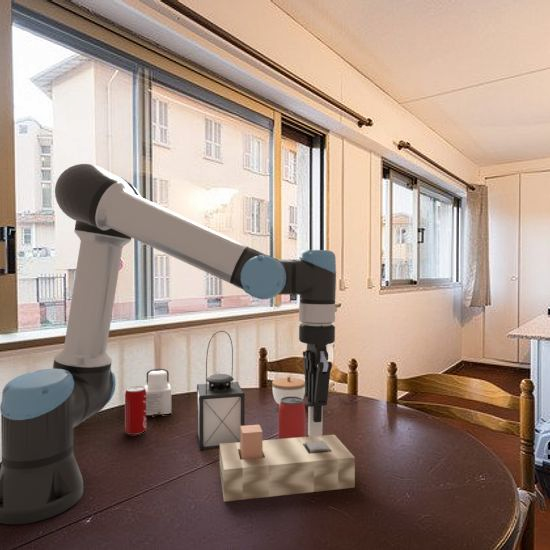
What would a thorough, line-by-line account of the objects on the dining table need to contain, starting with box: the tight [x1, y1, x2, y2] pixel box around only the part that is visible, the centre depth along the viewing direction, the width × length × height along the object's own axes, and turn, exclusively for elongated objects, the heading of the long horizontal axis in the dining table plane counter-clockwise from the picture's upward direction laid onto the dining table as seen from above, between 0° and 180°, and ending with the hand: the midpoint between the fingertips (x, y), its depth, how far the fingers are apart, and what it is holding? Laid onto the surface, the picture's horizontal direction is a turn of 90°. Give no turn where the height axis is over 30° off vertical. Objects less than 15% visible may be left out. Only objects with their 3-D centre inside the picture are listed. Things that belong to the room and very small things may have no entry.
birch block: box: [219, 434, 356, 502], centre depth 86 cm, size 26×12×6 cm, turn 101°
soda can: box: [124, 385, 147, 435], centre depth 111 cm, size 6×6×12 cm
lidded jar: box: [271, 376, 305, 405], centre depth 134 cm, size 11×11×9 cm
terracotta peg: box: [240, 424, 264, 459], centre depth 84 cm, size 4×4×6 cm
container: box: [144, 368, 172, 415], centre depth 127 cm, size 8×8×13 cm
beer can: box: [278, 396, 306, 439], centre depth 101 cm, size 7×7×12 cm
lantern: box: [196, 330, 246, 452], centre depth 106 cm, size 11×11×28 cm
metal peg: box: [305, 441, 329, 454], centre depth 87 cm, size 4×4×6 cm
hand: (315, 435), depth 87 cm, fingers closed
